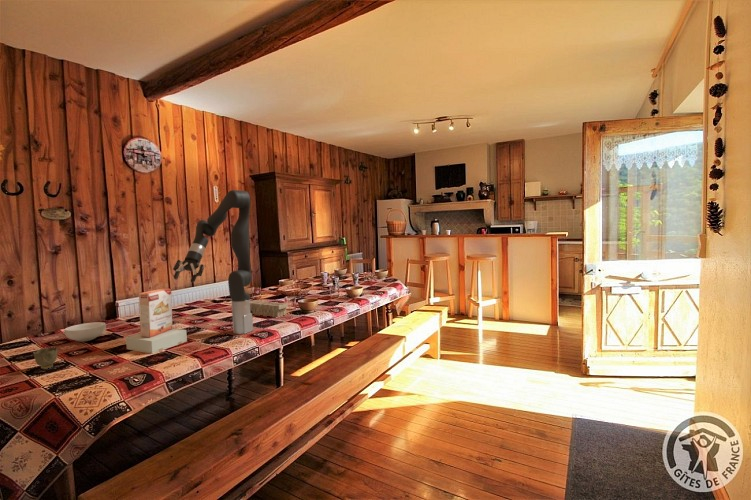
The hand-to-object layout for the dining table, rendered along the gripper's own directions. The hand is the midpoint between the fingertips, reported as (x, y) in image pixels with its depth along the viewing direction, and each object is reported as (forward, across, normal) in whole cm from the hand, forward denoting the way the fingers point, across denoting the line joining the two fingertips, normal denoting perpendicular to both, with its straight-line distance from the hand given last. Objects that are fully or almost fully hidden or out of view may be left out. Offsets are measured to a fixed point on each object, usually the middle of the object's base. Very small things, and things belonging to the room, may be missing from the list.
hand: (183, 280), depth 189 cm
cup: (+53, -30, -14) cm, 62 cm away
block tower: (-3, +36, +46) cm, 59 cm away
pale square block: (+34, 0, +4) cm, 34 cm away
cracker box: (+28, -2, +1) cm, 28 cm away
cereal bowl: (+34, -44, +20) cm, 59 cm away
